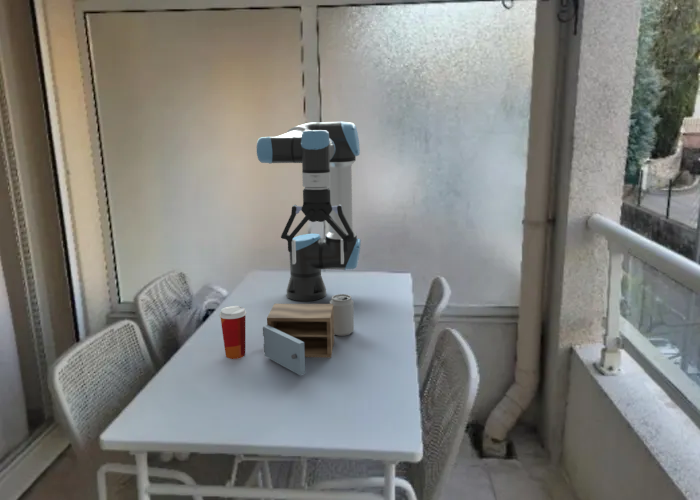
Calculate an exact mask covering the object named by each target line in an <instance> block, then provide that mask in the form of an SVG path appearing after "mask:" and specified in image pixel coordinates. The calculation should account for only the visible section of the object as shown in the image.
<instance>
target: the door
mask: <svg viewBox="0 0 700 500" xmlns="http://www.w3.org/2000/svg"><path fill="white" fill-rule="evenodd" d="M262 336H263V353H264V357H265V358H266V359H267V358H268V359H269V360H271V361H273V362H275V363H277V364H278V365H280V366H282V367H284V368H286V369H288V370H290V371H291V372H293V373H295V374H297V375H298V376H302V375H305V374H306V362H305V361H306V357H305V350H304V342H303V341H301V340H299V339H297V338H294V337H292V336H290V335H288V334H286V333H284V332H282V331H280V330H277V329H275V328H273V327H271V326H269V325H267V324H266V325H263V327H262Z"/></svg>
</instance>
